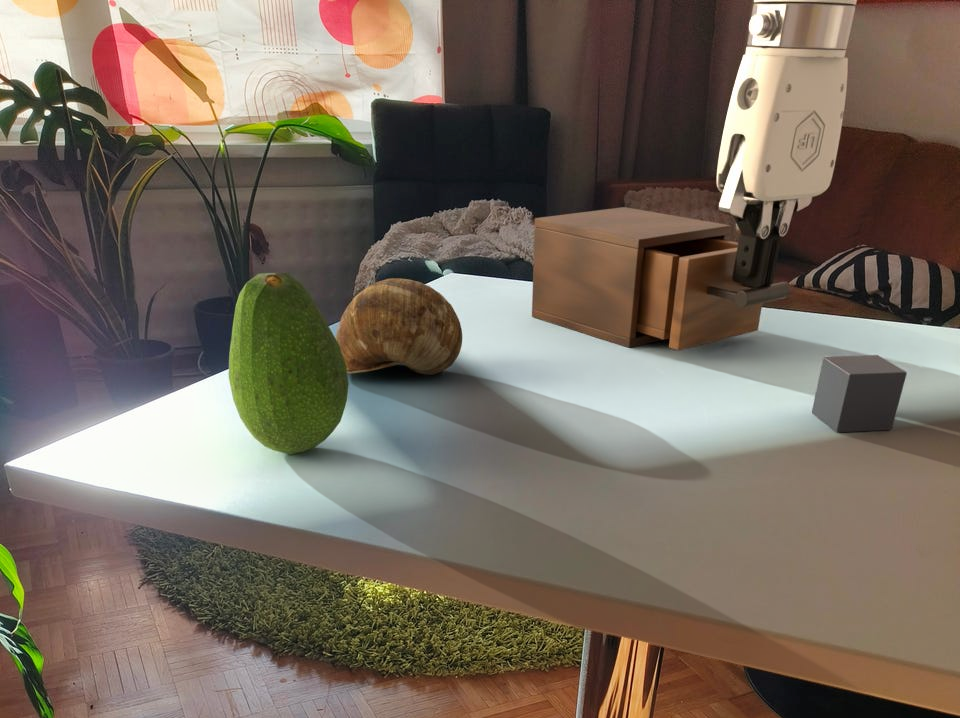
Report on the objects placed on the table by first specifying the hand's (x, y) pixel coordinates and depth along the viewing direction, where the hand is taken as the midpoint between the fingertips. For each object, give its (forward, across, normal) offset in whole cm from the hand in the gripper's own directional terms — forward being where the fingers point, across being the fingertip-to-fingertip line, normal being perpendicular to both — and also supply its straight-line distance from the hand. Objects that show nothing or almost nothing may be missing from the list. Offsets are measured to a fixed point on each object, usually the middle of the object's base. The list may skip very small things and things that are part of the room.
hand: (751, 283), depth 79 cm
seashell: (+7, -28, +14) cm, 32 cm away
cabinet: (+7, 0, +15) cm, 17 cm away
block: (+6, -6, -16) cm, 19 cm away
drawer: (+6, 0, +7) cm, 9 cm away
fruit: (+7, -44, +3) cm, 44 cm away
